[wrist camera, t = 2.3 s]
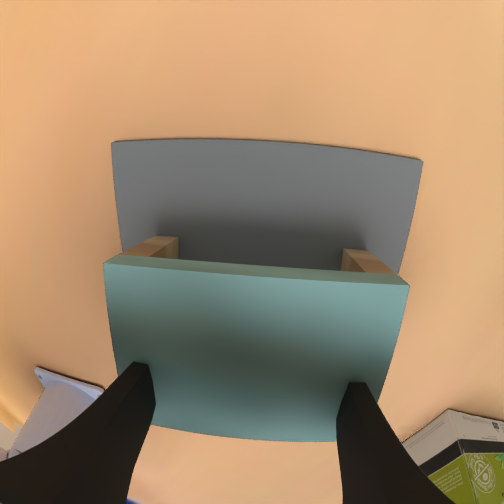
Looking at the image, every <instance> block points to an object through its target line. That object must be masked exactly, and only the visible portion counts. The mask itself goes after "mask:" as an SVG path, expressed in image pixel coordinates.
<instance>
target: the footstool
mask: <svg viewBox="0 0 504 504" xmlns="http://www.w3.org/2000/svg"><path fill="white" fill-rule="evenodd" d="M103 268H104V281H105V291H106V301H107V309H108V317H109V325H110V332H111V338H112V345H113V351H114V357H115V362H116V368H117V373H118V377H119V376H120V374H121V373H122V372H123V371H124V370H125V369H126V368H127V367H128V366H129V365H130V364H131V363H132V362H133V361H134V362H139V363H144V364H148V366H149V369H150V373H151V376H152V379H153V386H154V393H155V399H156V407H155V411H154V415H153V418H152V422H151V425H156V426H161V427H165V428H171V429H176V430H181V431H187V432H193V433H200V434H207V435H214V436H222V437H231V438H240V439H252V440H266V441H288V442H334V441H337V439H336V418H337V414H338V411H339V408H340V404H341V401H342V398H343V396H344V394H345V391H346V389H347V387H348V384H349V382H365V383H366V384H367V385H368V387H369V389H370V391H371V393H372V395H373V397H374V399H375V400H376V402H378V400H379V397H380V394H381V391H382V388H383V385H384V382H385V379H386V376H387V373H388V369H389V366H390V363H391V360H392V356H393V353H394V349H395V346H396V342H397V338H398V335H399V331H400V327H401V323H402V319H403V315H404V310H405V306H406V301H407V297H408V292H409V287H410V285H409V284H408V283H407V282H405V281H404V280H403V279H402V278H401V277H399V276H398V275H397V274H396V273H395V272H393V271H392V270H391V269H390V268H389V267H387V266H386V265H385V264H384V263H383V262H381V261H380V260H379V259H378V258H376V257H375V256H374V255H373V254H372V253H370V252H369V251H368V250H359V249H346V248H343V254H342V262H341V269H340V271H334V270H318V269H303V268H288V267H274V266H260V265H246V264H232V263H219V262H206V261H193V260H180V259H179V237H171V236H153V237H151V238H149V239H147V240H145V241H144V242H142V243H140V244H138V245H136V246H134V247H132V248H130V249H128V250H126V251H124V252H123V253H121V254H119V255H117V256H115V257H113V258H111V259H110V260H108V261H106V262H104V263H103Z"/></svg>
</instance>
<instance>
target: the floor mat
mask: <svg viewBox="0 0 504 504" xmlns="http://www.w3.org/2000/svg"><path fill="white" fill-rule="evenodd" d="M111 150H112V165H113V177H114V188H115V198H116V207H117V215H118V223H119V230H120V237H121V244H122V250H123V252H124V251H126V250H128V249H130V248H132V247H134V246H136V245H138V244H140V243H142V242H144V241H145V240H147V239H149V238H151V237H153V236H171V237H179V259H180V260H193V261H206V262H219V263H232V264H246V265H260V266H274V267H288V268H303V269H318V270H334V271H340V269H341V262H342V254H343V248H346V249H359V250H368V251H369V252H370V253H372V254H373V255H374V256H375V257H376V258H378V259H379V260H380V261H381V262H383V263H384V264H385V265H386V266H387V267H389V268H390V269H391V270H392V271H393V272H395V273H396V274H397V275H398V273H399V269H400V266H401V262H402V258H403V255H404V251H405V247H406V243H407V239H408V235H409V231H410V227H411V222H412V218H413V213H414V209H415V204H416V199H417V194H418V189H419V183H420V178H421V172H422V166H423V161H421V160H419V159H414V158H408V157H403V156H397V155H391V154H385V153H379V152H373V151H366V150H359V149H351V148H343V147H335V146H326V145H317V144H306V143H295V142H281V141H266V140H245V139H151V140H131V141H116V142H112V143H111Z"/></svg>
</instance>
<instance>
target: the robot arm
mask: <svg viewBox="0 0 504 504" xmlns="http://www.w3.org/2000/svg"><path fill="white" fill-rule="evenodd" d="M34 372H35V373H36V375H37V377H38V379H39V380H40V382H41V384H42V385H43V387H44V389H45V390H44V392H43V393H42V395H41V397H40V398H39V400H38V402H37V403H36V405H35V407H34V408H33V410H32V412H31V413H30V415H29V417H28V419H27V420H26V422H25V424H24V426H23V427H22V429H21V431H20V433H19V435H18V436H17V438H16V441H15V442H14V444H13V446H12V448H11V449H10V450H7V451H6V450H4V449H3V448H0V504H126V500H127V495H128V490H129V485H130V481H131V477H132V473H133V470H134V467H135V464H136V461H137V458H138V456H139V453H140V450H141V448H142V445H143V443H144V440H145V437H146V435H147V432H148V430H149V427H150V424H151V422H152V418H153V415H154V411H155V407H156V399H155V393H154V386H153V379H152V376H151V373H150V369H149V366H148V364H144V363H139V362H134V361H133V362H132V363H131V364H130V365H129V366H128V367H127V368H126V369H125V370H124V371H123V372H122V373H121V374H120V376H119V377H118V378H117V379H116V380H115V381H114V382H113V383H112V384H111V385H110V386H109V387H108V388H107V389H106V390H105V391H104V390H103V389H102V388H100V387H98V386H94V385H90V384H87V383H84V382H80V381H77V380H74V379H71V378H67V377H64V376H61V375H58V374H55V373H52V372H50V371H47V370H44V369H41V368H39V367H36V368H35V369H34ZM336 439H337V447H338V455H339V463H340V471H341V480H342V491H343V504H455V503H454V502H453V501H452V500H451V499H449V498H448V497H447V496H446V495H445V494H444V493H443V492H442V491H441V490H440V489H439V488H438V487H437V486H436V485H435V484H434V483H433V482H432V481H431V480H430V479H429V478H428V477H427V476H426V475H425V474H424V472H423V471H422V470H421V469H420V468H419V466H418V465H417V464H416V463H415V462H414V460H413V459H412V458H411V456H410V455H409V454H408V452H407V451H406V449H405V448H404V446H403V445H402V444H401V442H400V441H399V439H398V438H397V436H396V435H395V433H394V431H393V430H392V428H391V426H390V425H389V423H388V422H387V420H386V418H385V416H384V415H383V413H382V411H381V409H380V408H379V406H378V404H377V402H376V400H375V399H374V397H373V395H372V393H371V391H370V389H369V387H368V385H367V384H366V383H365V382H349V384H348V387H347V389H346V391H345V394H344V396H343V398H342V401H341V404H340V408H339V411H338V414H337V418H336Z"/></svg>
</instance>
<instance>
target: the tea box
mask: <svg viewBox="0 0 504 504" xmlns="http://www.w3.org/2000/svg"><path fill="white" fill-rule="evenodd" d="M401 444H402V445H403V446H404V448H405V449H406V451H407V452H408V454H409V455H410V456H411V458H412V459H413V460H414V462H415V463H416V464H417V465H418V466H419V468H420V469H421V470H422V471H423V472H424V474H425V475H426V476H427V477H428V478H429V479H430V480H431V481H432V482H433V483H434V484H435V485H436V486H437V487H438V488H439V489H440V490H441V491H442V492H443V493H444V494H445V495H446V496H447V497H448V498H449V499H451V500H452V501H453V502H454V503H455V504H504V422H502V421H496V420H492V419H486V418H482V417H479V416H472V415H468V414H466V413H462V412H457V411H453V410H450V409H447V410H446V411H445V412H443V413H442V414H441V415H440V416H438V417H437V418H436V419H434V420H433V421H432V422H430V423H429V424H428V425H426V426H425V427H424V428H422V429H421V430H420V431H418V432H417V433H416V434H414V435H413V436H412V437H410V438H409V439H407V440H406V441H404V442H403V443H401Z"/></svg>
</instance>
